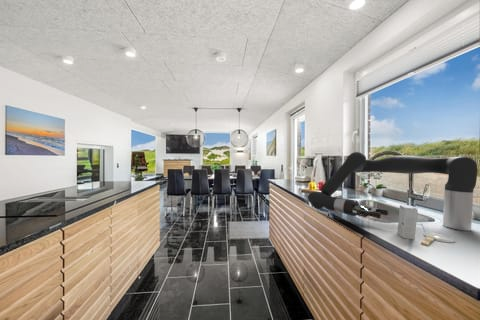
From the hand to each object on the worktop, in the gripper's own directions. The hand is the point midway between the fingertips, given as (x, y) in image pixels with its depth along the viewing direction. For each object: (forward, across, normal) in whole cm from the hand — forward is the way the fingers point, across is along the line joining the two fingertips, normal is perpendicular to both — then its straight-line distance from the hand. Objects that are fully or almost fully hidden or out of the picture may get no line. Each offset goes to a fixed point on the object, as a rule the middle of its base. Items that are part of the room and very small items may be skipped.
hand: (384, 214), depth 89 cm
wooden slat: (+14, 0, +7) cm, 16 cm away
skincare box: (+8, 0, +7) cm, 11 cm away
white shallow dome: (+16, +9, +7) cm, 20 cm away
